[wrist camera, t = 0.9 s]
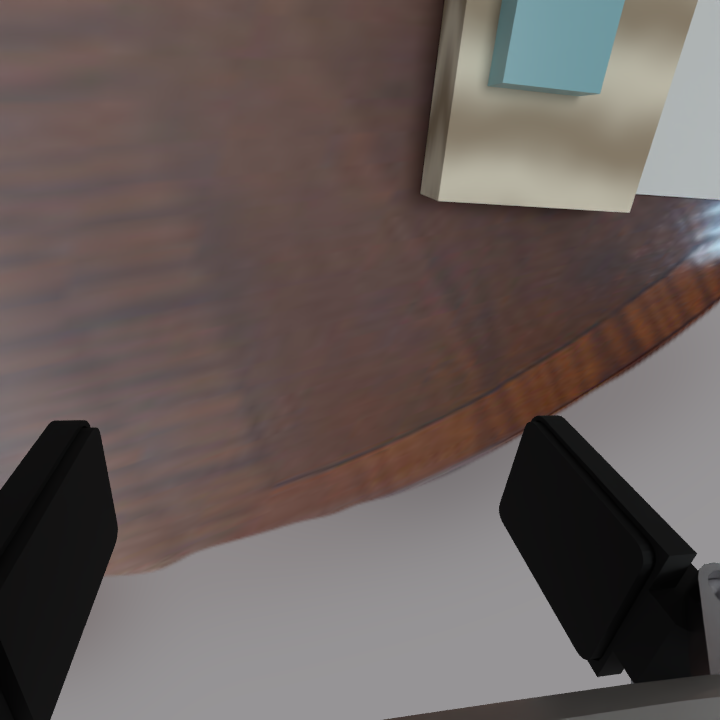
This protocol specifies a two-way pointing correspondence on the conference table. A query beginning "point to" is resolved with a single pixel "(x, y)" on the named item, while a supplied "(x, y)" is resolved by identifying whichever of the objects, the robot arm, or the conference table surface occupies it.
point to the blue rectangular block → (554, 45)
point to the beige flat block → (548, 116)
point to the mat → (690, 117)
